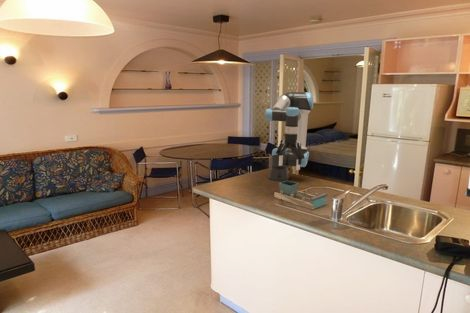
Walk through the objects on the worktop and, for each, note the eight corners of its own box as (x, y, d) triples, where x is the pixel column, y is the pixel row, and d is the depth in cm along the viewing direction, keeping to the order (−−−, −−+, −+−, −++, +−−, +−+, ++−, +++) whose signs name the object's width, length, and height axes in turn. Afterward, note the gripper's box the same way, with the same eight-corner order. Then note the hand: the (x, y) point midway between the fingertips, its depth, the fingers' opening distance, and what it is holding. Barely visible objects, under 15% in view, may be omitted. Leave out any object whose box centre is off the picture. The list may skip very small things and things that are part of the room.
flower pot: (297, 197, 210) (298, 183, 208) (289, 200, 204) (290, 186, 202) (286, 193, 216) (287, 180, 214) (278, 196, 209) (278, 182, 208)
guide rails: (289, 192, 218) (289, 185, 217) (326, 204, 198) (327, 196, 197) (274, 197, 208) (274, 189, 207) (312, 209, 188) (312, 201, 187)
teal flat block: (323, 203, 200) (324, 193, 198) (326, 204, 198) (327, 194, 197) (309, 208, 190) (309, 198, 188) (312, 209, 188) (312, 199, 187)
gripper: (271, 131, 208) (269, 164, 212) (304, 136, 190) (301, 172, 194) (279, 130, 213) (277, 163, 217) (312, 135, 195) (309, 170, 199)
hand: (289, 167), depth 206 cm, fingers open, 13 cm apart
